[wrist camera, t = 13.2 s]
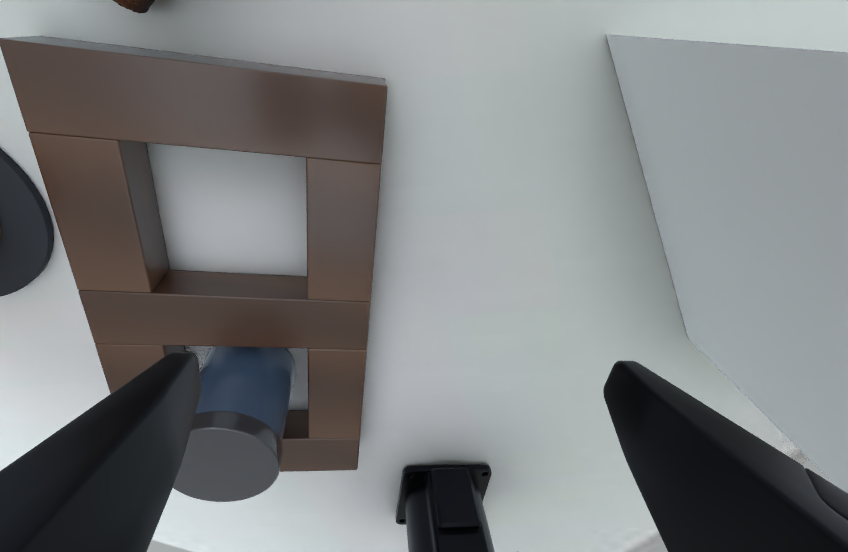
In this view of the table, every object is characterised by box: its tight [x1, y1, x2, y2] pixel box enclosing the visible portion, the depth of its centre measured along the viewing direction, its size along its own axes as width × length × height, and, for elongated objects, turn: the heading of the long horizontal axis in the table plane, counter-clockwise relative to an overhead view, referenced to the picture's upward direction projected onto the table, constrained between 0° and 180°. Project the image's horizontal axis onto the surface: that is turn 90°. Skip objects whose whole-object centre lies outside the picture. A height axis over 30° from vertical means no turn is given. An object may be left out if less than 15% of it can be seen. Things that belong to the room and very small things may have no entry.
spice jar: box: [173, 346, 296, 502], centre depth 22 cm, size 5×5×6 cm
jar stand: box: [0, 36, 387, 472], centre depth 22 cm, size 23×13×2 cm, turn 173°
